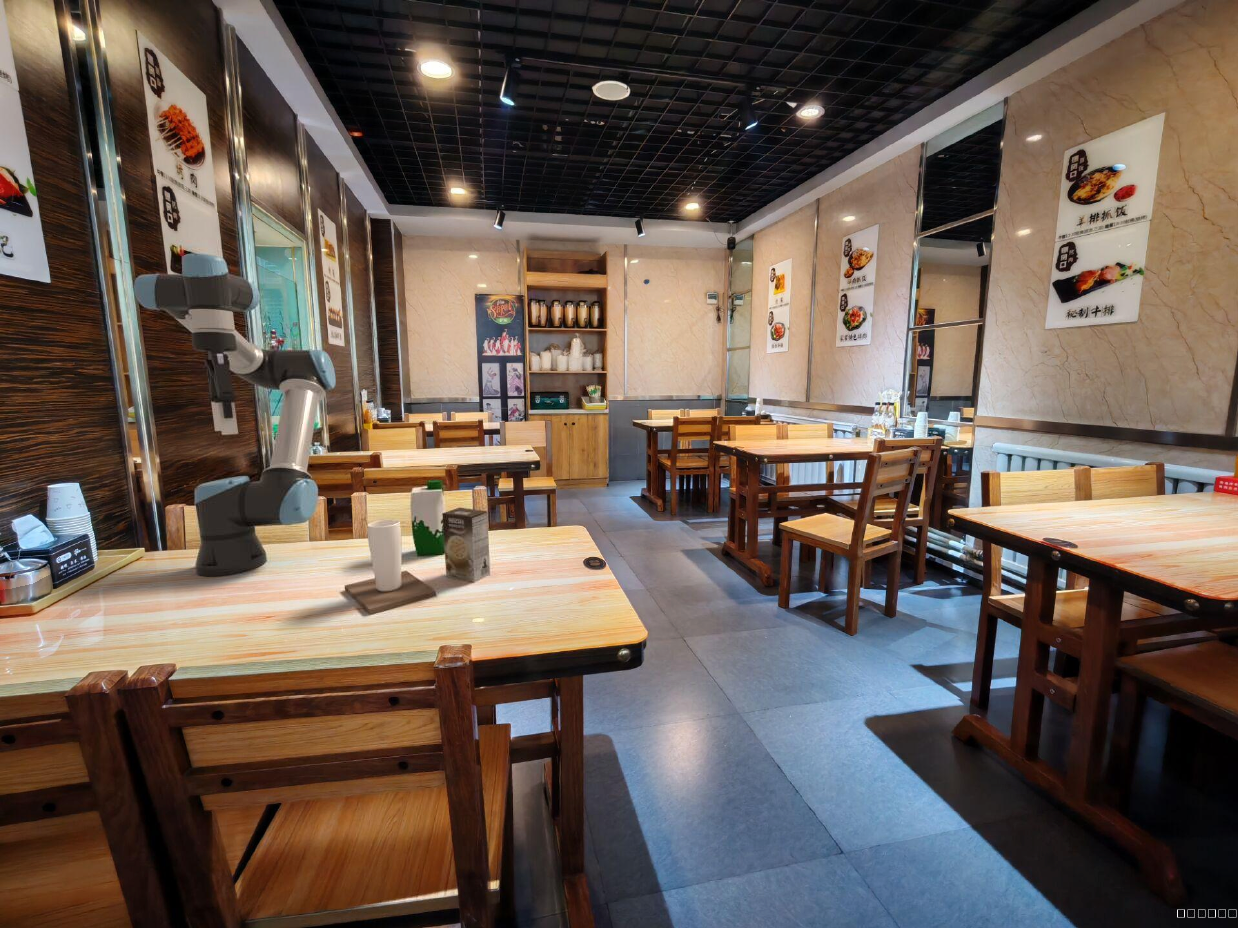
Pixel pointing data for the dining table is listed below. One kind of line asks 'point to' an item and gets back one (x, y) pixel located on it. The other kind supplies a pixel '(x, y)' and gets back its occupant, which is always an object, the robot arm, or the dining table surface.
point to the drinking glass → (386, 553)
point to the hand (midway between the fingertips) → (226, 432)
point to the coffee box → (466, 544)
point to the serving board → (389, 593)
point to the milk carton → (428, 518)
